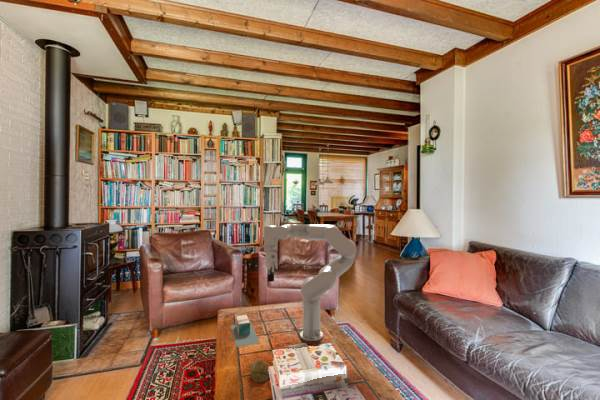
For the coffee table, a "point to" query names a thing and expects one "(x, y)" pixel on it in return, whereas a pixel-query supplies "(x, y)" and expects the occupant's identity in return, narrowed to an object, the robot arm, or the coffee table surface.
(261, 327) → the coffee table surface
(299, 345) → the fossil replica
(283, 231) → the robot arm
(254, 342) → the rubber mat
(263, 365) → the dark olive rounded lump
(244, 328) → the maple block
